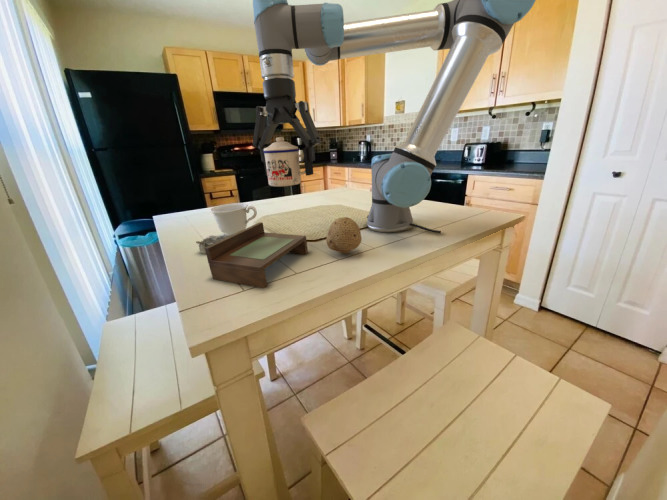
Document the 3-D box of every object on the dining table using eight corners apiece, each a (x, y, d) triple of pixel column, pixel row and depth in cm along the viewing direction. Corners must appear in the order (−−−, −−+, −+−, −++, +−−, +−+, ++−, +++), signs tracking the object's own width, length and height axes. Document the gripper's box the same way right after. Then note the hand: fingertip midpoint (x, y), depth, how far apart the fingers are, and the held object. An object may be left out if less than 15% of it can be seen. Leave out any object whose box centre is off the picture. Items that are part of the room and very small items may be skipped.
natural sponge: (369, 252, 72) (369, 216, 68) (345, 263, 67) (343, 225, 63) (346, 244, 79) (344, 211, 75) (322, 254, 73) (319, 218, 70)
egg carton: (197, 255, 80) (193, 242, 78) (208, 245, 87) (204, 233, 85) (233, 252, 79) (230, 239, 78) (241, 243, 86) (238, 230, 85)
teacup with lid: (262, 187, 70) (254, 138, 65) (275, 181, 78) (270, 138, 74) (306, 186, 68) (302, 135, 63) (316, 180, 76) (312, 135, 71)
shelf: (308, 252, 75) (304, 225, 72) (264, 288, 59) (257, 254, 55) (264, 247, 81) (259, 222, 78) (212, 278, 64) (204, 247, 61)
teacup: (255, 239, 88) (250, 209, 85) (210, 242, 89) (203, 212, 85) (264, 228, 100) (260, 201, 96) (224, 230, 100) (218, 204, 96)
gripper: (228, 84, 65) (244, 176, 74) (316, 69, 56) (323, 177, 64) (249, 88, 72) (261, 172, 80) (331, 75, 62) (336, 172, 70)
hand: (289, 174), depth 72 cm, fingers closed on teacup with lid, 12 cm apart
